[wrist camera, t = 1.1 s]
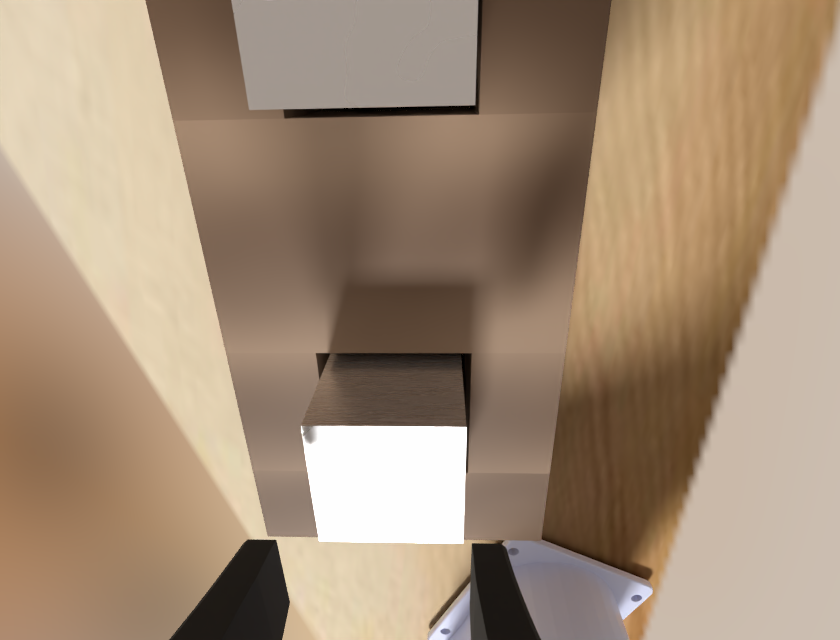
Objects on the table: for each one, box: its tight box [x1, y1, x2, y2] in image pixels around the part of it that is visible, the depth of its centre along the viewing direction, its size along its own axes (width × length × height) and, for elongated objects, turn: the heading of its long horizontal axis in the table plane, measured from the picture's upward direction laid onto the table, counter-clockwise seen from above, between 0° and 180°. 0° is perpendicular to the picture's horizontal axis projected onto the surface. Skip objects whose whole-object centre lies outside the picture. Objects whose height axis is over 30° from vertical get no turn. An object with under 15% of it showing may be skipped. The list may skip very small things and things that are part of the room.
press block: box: [146, 0, 611, 541], centre depth 14 cm, size 22×10×4 cm, turn 1°
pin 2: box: [301, 353, 467, 544], centre depth 14 cm, size 4×4×4 cm
